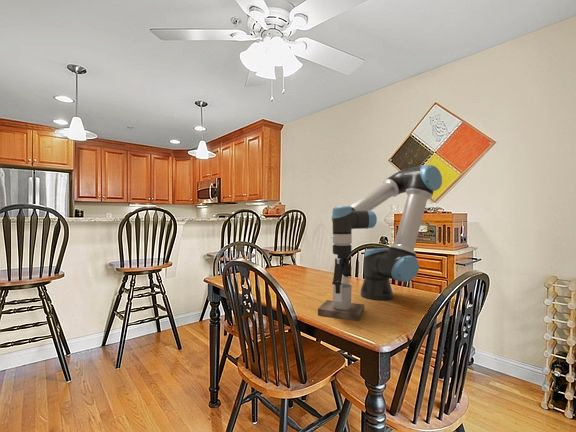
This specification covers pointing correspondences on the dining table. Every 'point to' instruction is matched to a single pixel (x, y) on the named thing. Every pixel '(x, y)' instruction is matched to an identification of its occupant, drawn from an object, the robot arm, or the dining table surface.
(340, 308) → the cup
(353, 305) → the board
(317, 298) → the dining table surface
